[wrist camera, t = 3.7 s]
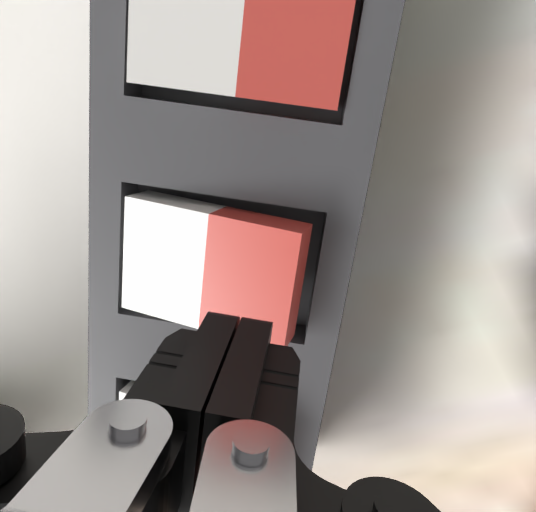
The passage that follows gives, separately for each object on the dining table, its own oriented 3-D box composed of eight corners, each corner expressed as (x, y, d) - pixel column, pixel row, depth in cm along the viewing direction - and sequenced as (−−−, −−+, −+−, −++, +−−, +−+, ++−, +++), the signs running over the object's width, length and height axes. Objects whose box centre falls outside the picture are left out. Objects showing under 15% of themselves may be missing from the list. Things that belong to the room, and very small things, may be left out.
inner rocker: (140, -71, 13) (131, -90, 11) (349, -33, 14) (363, -47, 12) (135, 83, 14) (126, 82, 13) (326, 109, 15) (337, 110, 14)
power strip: (153, -72, 17) (90, -139, 13) (396, -45, 17) (426, -105, 12) (133, 417, 24) (87, 492, 20) (303, 448, 24) (299, 533, 19)
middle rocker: (148, 190, 16) (124, 196, 15) (312, 224, 15) (301, 233, 14) (143, 293, 18) (121, 307, 16) (294, 334, 16) (283, 353, 15)
